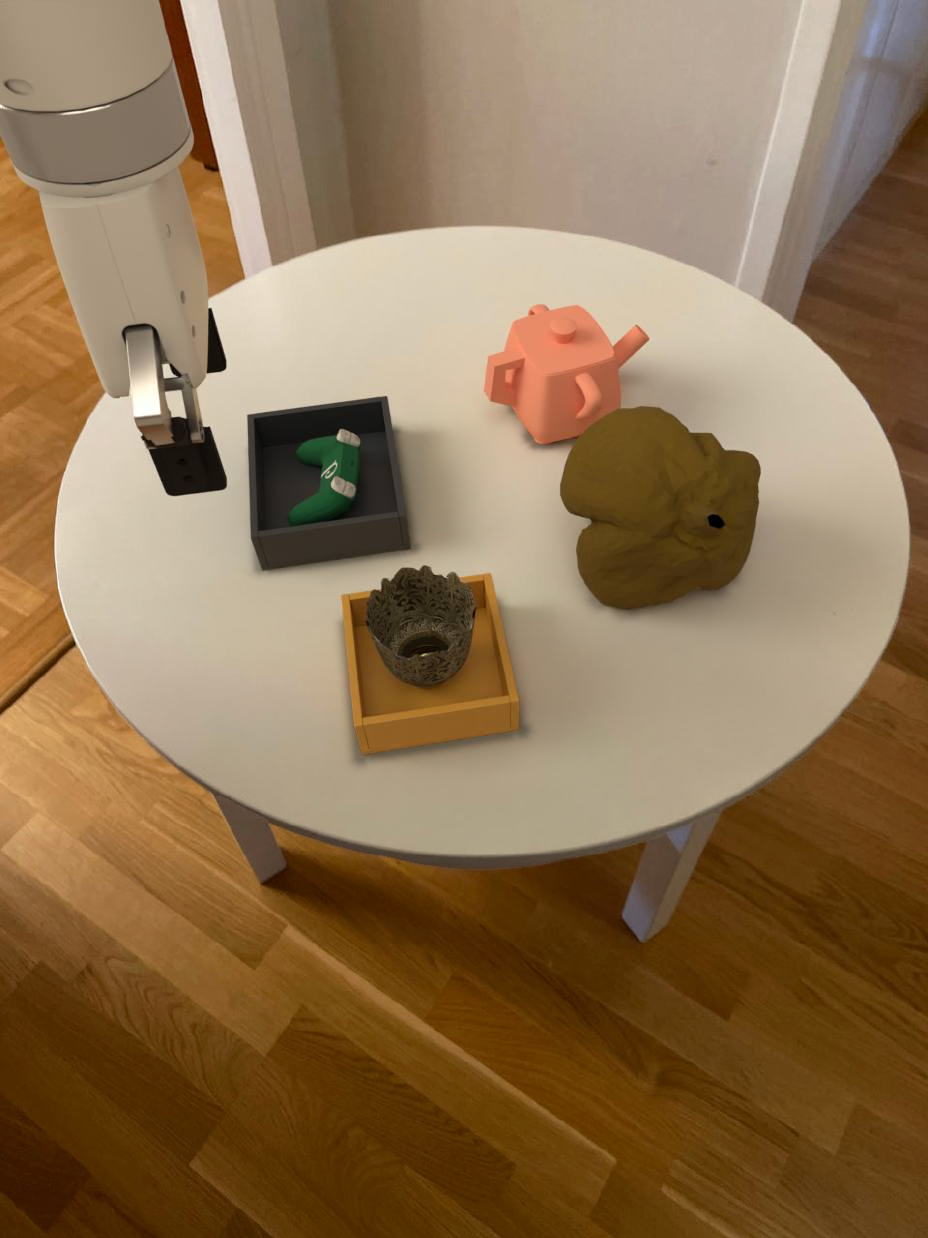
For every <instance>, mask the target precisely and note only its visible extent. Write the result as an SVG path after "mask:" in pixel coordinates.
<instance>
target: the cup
mask: <svg viewBox="0 0 928 1238" xmlns="http://www.w3.org/2000/svg"><path fill="white" fill-rule="evenodd" d="M459 577H460V576H458V574H457V573H456V572H455V571H450V572H449V573H447V575H446V576H444V575H443V574H442V573H439V574H435V573H434V572H433V570H432V567H431V566H428V565H425V564H423V565H422V566H421V567H419V569H416V568H414V567H404V566H403V567H401V568H399V570H397V572H396V573H395V574H394V576H393V578H391V579H390V578H387V577H383V578H382V579H381V580H380V589H381V591H379V590H378V589H375V588H374V589H373V590H372V591H371V590H370V591H371V593H370V596H369V599H370V601H369V600H368V601H367V602H366V606H367V613H366V614H367V617H368V618H365V621H366V624H367V627H368V629H369V633H370V634H371V637H372V639H373V642H374V644H375V647H376V649H377V651H378V653H379V656H380V658H381V659H382V661H383V663H384V665H385V666H386V667H387V669H388V670H389V671H390V672H391V673H392V674H393V675H394V676H395V677H397V678H398V679H400V680H401V681H403V682H405V683H407V684H410V685H414V686H415V687H418V688H421V689H433V688H437V687H439V686H441V685H442V684H443V683H445V682H446V681H447V680H449V679H450V678H452V677H453V676H454V675H455V674H456V673H457V672H458V671H459V670H460V669H461V668H462V666H463V665H464V663H465V661H466V659H467V656H468V654H469V651H470V647H471V642H472V636H473V629H474V621H475V613H476V604H474V602H473V594H472V590H471V587H470V586H469V585H468V584H467V583H464V582H461V581H460V579H459Z"/></svg>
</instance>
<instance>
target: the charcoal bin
mask: <svg viewBox="0 0 928 1238" xmlns="http://www.w3.org/2000/svg"><path fill="white" fill-rule="evenodd" d="M246 422H247V424H246V426H247V456H248V458H247V460H248V488H249V489H248V491H249V492H248V493H249V496H248V497H249V525H250V526H249V529H250V540H251V542H252V546H253V549H254V551H255V554H256V557H257V560H258V563H259V566H260V569H261V571H268V570H274V569H282V568H289V567H295V566H302V565H309V564H315V563H322V562H331V561H337V560H343V559H351V558H359V557H365V556H369V555H370V556H371V555H378V554H379V555H380V554H386V553H392V552H399V551H406V550H411V549H412V546H411V538H410V531H409V530H410V529H409V522H408V516H407V510H406V503H405V497H404V490H403V485H402V477H401V472H400V465H399V459H398V453H397V448H396V447H397V446H396V440H395V435H394V427H393V423H392V422H393V421H392V416H391V409H390V403H389V397H388V396H387V395H382V396H374V397H366V398H359V399H353V400H344V401H337V402H330V403H321V404H314V405H308V406H301V407H293V408H285V409H278V410H269V411H262V412H256V413H248V414H247V415H246ZM340 429H344V430H346V431H349V432H350V433H353V434H355V435H357V437H358V438H359V439H360V441H361V453H360V464H359V476H358V483H357V487H358V489H357V494H356V497H355V499H354V502H353V503H352V504H351V505H350V507H349V510H348V511H347V512H343V513H342V514H341V515H339V516H337V517H336V518H333V519H331V520H328V521H326V522H320V523H313V524H306V525H299V526H292V527H290V524H289V522H288V519H287V517H286V516H287V515H288V513H289V512H290V511H291V510H292V509H293V508H294V507H295V506H296V505H298V504H300V503H301V502H303V501H305V500H307V499H308V498H310V497H312V496H313V495H315V494H317V493H318V492H319V489H320V482H321V474H322V467H323V466H312V465H307V464H304V463H302V462H301V461H300V460H299V459H298V458H297V456H296V452H297V450H298V448H299V447H300V446H301V445H302V444H303V443H305V442H306V441H308V440H310V439H315V438H320V437H327V436H335V435H337V434H338V433H339V430H340Z"/></svg>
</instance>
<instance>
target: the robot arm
mask: <svg viewBox="0 0 928 1238" xmlns="http://www.w3.org/2000/svg"><path fill="white" fill-rule="evenodd" d="M169 39H170V38H169V35H168V32H167V30H166V25H165V20H164V15H163V11H162V8H161V4H160V0H0V138H1V141H2V143H3V145H4V147H5V150H6V152H7V155H8V157H9V159H10V161H11V164H12V166H13V169H14V171H15V173H16V175H17V176H18V178H19V179H20V180H21V182H23V183H24V184H25V185H27V186H28V187H29V188H32V189H34V190H36V191H38V193H39V201H40V204H41V205H40V206H41V209H42V214H43V218H44V223H45V225H46V229H47V233H48V238H49V240H50V243H51V246H52V251H53V254H54V257H55V260H56V263H57V267H58V269H59V273H60V275H61V278H62V281H63V284H64V287H65V290H66V294H67V296H68V299H69V302H70V304H71V307H72V311H73V313H74V315H75V318H76V321H77V323H78V327H79V329H80V332H81V334H82V337H83V340H84V343H85V345H86V348H87V350H88V353H89V356H90V358H91V361H92V363H93V366H94V369H95V371H96V374H97V377H98V379H99V382H100V385H101V387H102V389H103V390H104V392H105V393H106V394H107V395H108V396H109V397H111V398H112V399H120V398H125V397H130V395H131V403H132V414H133V419H134V420H133V421H134V423H135V426H136V428H137V430H139V432H140V433H141V435H140V439H141V441H143V444H144V447H145V448H146V450H147V451H148V452H149V453H148V454H149V456H150V457H151V460H152V463H153V465H154V467H155V470H156V472H157V475H158V477H159V480H160V482H161V485H162V488H163V489H164V492H165V494H167V496H170V497H180V496H188V495H196V494H205V493H213V492H221V491H224V490H225V489H227V487H228V476H227V473H226V471H225V467H224V465H223V461H222V459H221V455H220V452H219V450H218V446H217V443H216V439H215V438H214V434H213V431H212V428H211V426H210V425H209V426H204V423H203V417H202V411H201V406H200V402H199V396H198V390H197V389H198V388H199V386H201V385H202V383H203V382H204V381H205V379H206V377H207V375H209V374H215V373H222V372H224V371H226V369H227V367H228V366H227V365H228V364H227V363H228V362H227V357H226V354H225V350H224V347H223V346H224V345H223V343H222V340H221V336H220V333H219V329H218V325H217V322H216V319H215V315H214V311H213V308H212V307H209V285H208V284H209V283H208V274H207V269H206V263H205V259H204V253H203V250H202V246H201V241H200V238H199V234H198V229H197V226H196V222H195V219H194V215H193V211H192V208H191V204H190V201H189V198H188V194H187V190H186V188H185V184H184V181H183V178H182V174H181V171H180V168H179V167H180V166H181V165H182V164H183V163H184V162H185V160H186V158H188V156H190V154H191V152H192V151H193V147H194V144H195V136H194V131H193V128H192V124H191V121H190V116H189V113H188V109H187V105H186V102H185V98H184V94H183V90H182V86H181V82H180V77H179V75H178V71H177V67H176V63H175V59H174V56H173V52H172V47H171V43H170V40H169ZM163 365H168V366H169V368H170V371H171V373H172V374H173V377H165V376H164V367H163ZM177 391H181V396H182V402H183V407H184V412H185V413H184V414H185V417H183V416H178V415H177V416H172V411H171V410H170V408H169V405H168V401H167V396H166V393H169V392H170V393H171V392H177ZM130 393H131V394H130Z"/></svg>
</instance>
